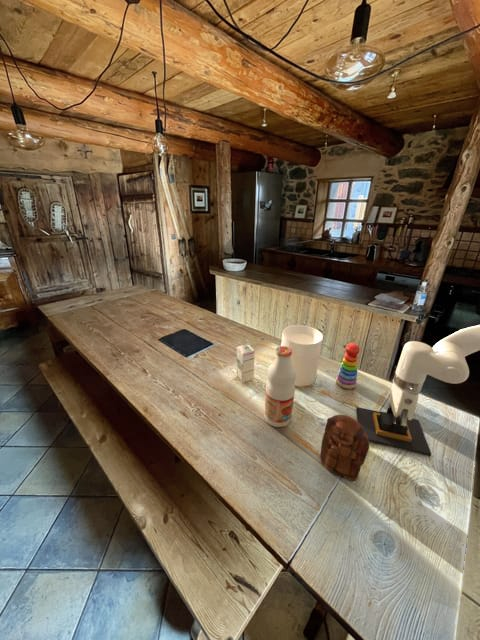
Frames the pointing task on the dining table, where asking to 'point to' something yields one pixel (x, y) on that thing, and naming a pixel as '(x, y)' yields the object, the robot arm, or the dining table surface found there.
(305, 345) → the canister
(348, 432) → the wooden figurine
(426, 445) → the base pad
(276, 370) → the fruit juice
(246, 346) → the syrup box
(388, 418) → the black pad
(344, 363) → the stacking toy
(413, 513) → the dining table surface
